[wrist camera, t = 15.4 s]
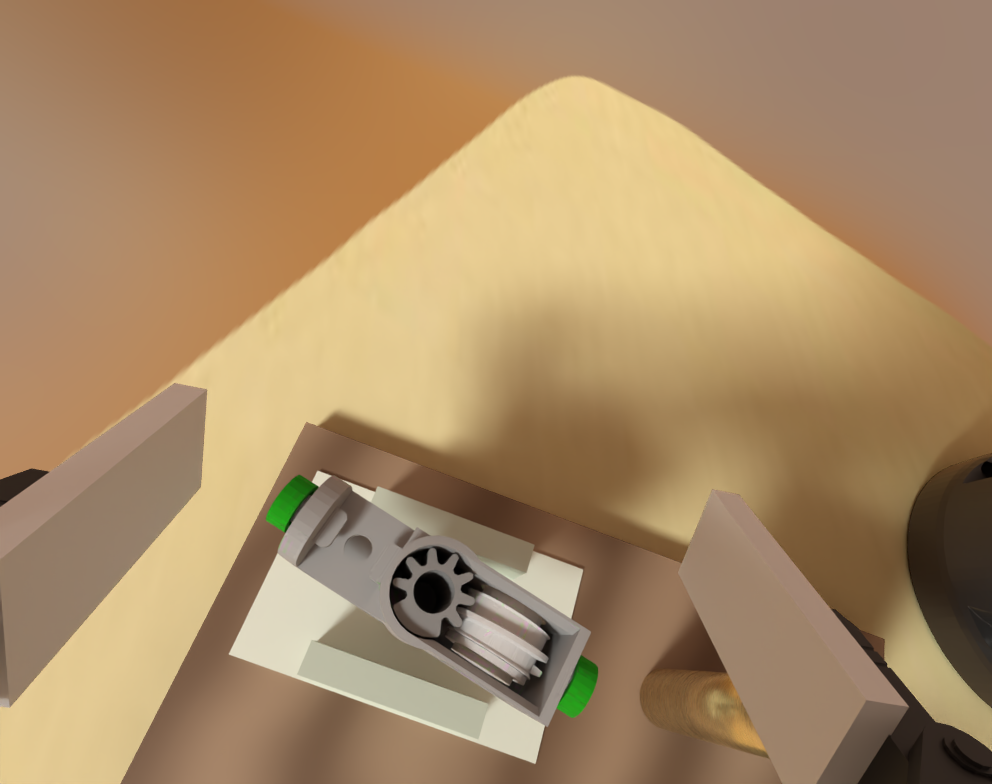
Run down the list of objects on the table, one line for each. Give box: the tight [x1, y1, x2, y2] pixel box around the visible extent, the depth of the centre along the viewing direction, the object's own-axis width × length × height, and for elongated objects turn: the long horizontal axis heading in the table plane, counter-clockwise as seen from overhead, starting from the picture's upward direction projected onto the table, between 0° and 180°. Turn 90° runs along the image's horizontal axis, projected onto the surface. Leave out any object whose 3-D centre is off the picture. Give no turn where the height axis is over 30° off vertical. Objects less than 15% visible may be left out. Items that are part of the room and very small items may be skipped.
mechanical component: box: [266, 475, 598, 727], centre depth 21 cm, size 3×10×10 cm, turn 60°
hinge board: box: [121, 422, 884, 784], centre depth 20 cm, size 30×16×12 cm, turn 72°
